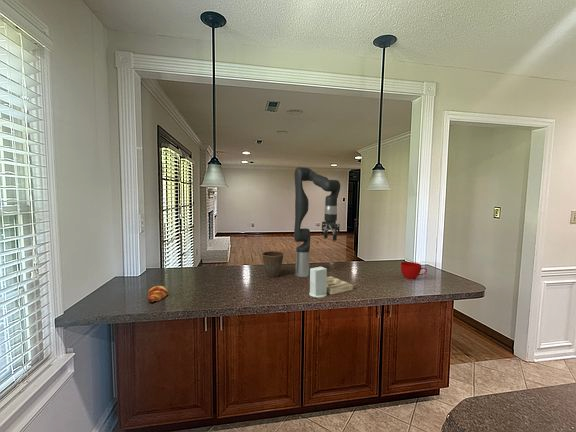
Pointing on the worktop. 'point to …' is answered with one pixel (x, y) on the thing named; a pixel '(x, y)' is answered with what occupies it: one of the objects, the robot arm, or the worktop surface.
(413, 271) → the ceramic cup
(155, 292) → the croissant
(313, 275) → the skincare box
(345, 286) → the pocket board
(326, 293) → the pale green disc
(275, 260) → the plant pot
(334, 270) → the worktop surface
